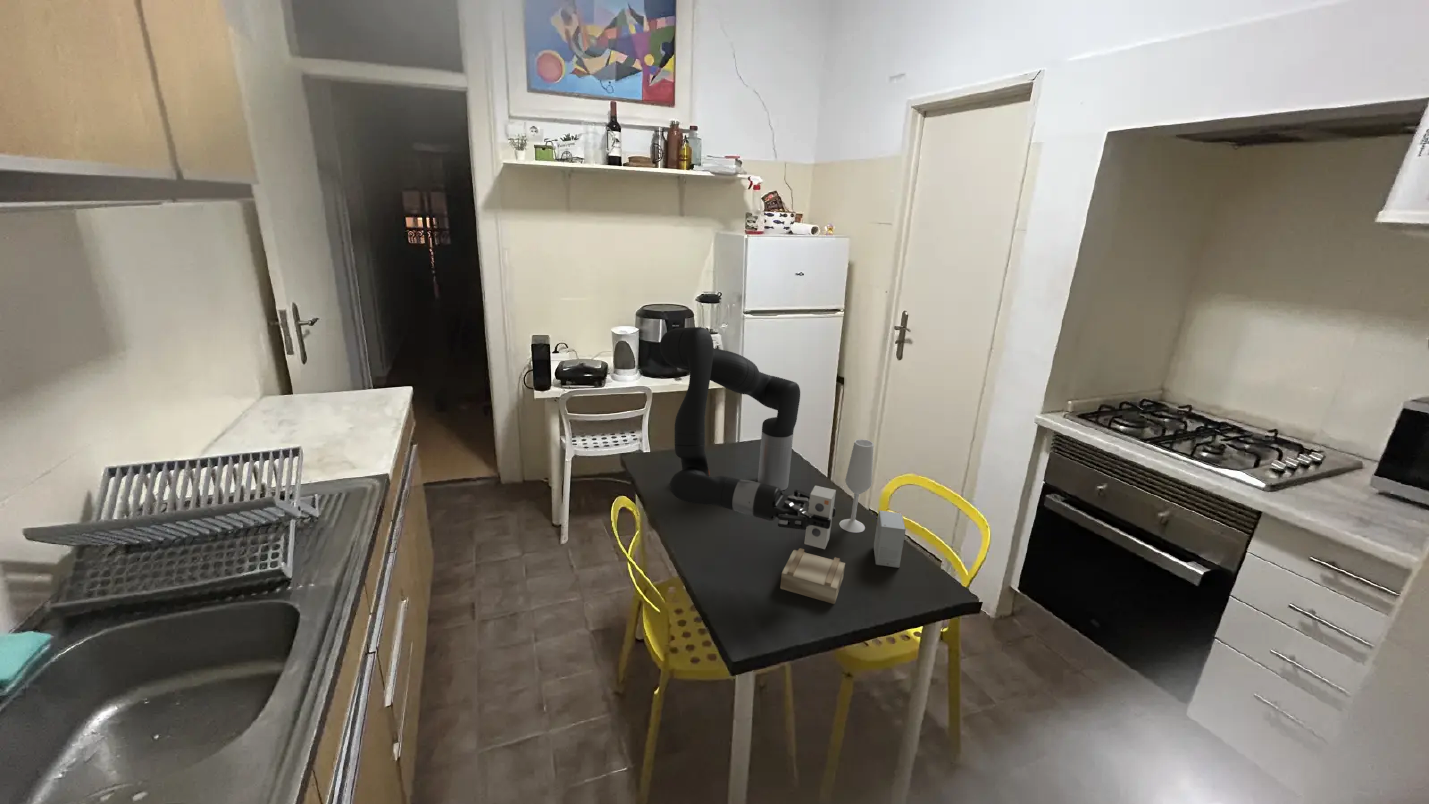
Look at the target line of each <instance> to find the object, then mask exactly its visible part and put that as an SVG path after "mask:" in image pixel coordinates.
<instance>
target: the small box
mask: <svg viewBox="0 0 1429 804" xmlns="http://www.w3.org/2000/svg"><path fill="white" fill-rule="evenodd" d="M905 525H906V524H905V521H904V518H903V513H901V512H893V511H887V510H878V515H877V522H876V528H875V535H874V541H873V551H874V552H873V553H874V561H875V565H876V566H882V567H883V566H885V567H891V568H900V566H901V559H902V556H903V555H902V554H903V546H904V544H905V543H904V542H905V535H906V526H905Z"/></svg>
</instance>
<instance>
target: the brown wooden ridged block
mask: <svg viewBox="0 0 1429 804" xmlns="http://www.w3.org/2000/svg"><path fill="white" fill-rule="evenodd" d="M845 566H846V562H842V561H841V558H840V557H836V556H834V558H833V559H831V558H827V557H823V556H819V555H816V554H812V553H807V552H805V549H804V548H800V547H799V548H798V550H796V549H793V551H792V552H791V554H790V556H789V558H788V560H787V562H786V564H785V566H784V568H783V569H782V572H781V577H780V589H781V590H783V591H784V590H785V591H787V592H791V593H794V594H797V595H798V594H799V595H800V596H801V595H802V596H805V597H809V598H812V599H816V600H817V601H818V600H819V601H822V602H826V603H829V604H832V605H835V604H836V602H837V598H838V595H839V592H840V589H841V586H842V583H843V580H844V576H845V575H844V574H845Z"/></svg>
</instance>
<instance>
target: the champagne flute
mask: <svg viewBox="0 0 1429 804" xmlns="http://www.w3.org/2000/svg"><path fill="white" fill-rule="evenodd" d="M874 447H875V445H874V442H872V441H871V440H868V439H864V438H862V439H861V438H859V439H855V440H854V443H853V446H852V451H851V454H850V459H849V461H848V462H849V463H848V467H847V471H846V476H845V478H844V480H845V481H844V482H845V485H846V486H847V488H848V489H849V490H850V491H851V492H852V493H853V501H852V507H851V515H850V518H846V519H845V518H844V519H842V520H840V522H839V526H840V529H843V530H844V531H846V532H849V533H857V534H858V533H862V532H864V531H865V529H866V527H865V524H864V523H862V522H861V521H859V520H857V519H856V518H857V512H858V511H857V509H858V504H859V495H861V494H863V493H865V492H867V491H868V490H869V489H870V488H871V487H872V484H873V465H874V464H873V463H874Z"/></svg>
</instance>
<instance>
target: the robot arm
mask: <svg viewBox="0 0 1429 804" xmlns="http://www.w3.org/2000/svg"><path fill="white" fill-rule="evenodd" d="M659 351H660V354H661V356H662V358H663V360H664V361H665V362H666V363H667V365H668V364H669V366H671V367H672V368H673V367H674V368H675V369H680V370H684V371H688V372H689V379H688V380H689V382H688V386H687V390H686V392H685V395H684V397H683V400H682V402H681V404H680V406H679V408H678V410H677V413H676V415H675V420H674V452H675V455H676V457H678V458H680V462H681V470H680V471H678V472H676V473H674V474H673V476H672V477H671V479H670V481H669V489H670V491H671V493H672V495H673V496H674V497H675V498H676V499H678V500H679V501H681V502H685V503H688V504H697V505H708V506H709V505H710V506H718V507H720V508H724V509H728V510H732V511H735V512H738V513H740V514H743V515H746V516H750V517H754V518H757V519H762V520H767V521H771V522H773V521H774V520H775V519H776V518H777V519H778V520H777V526H778V528H786V529H794V530H803V531H804V530H805V531H806V527H807V526H811V525H813V526H817V527H821V528H825V529H829V528H830V525H831V526H832V522H831V519H830V518H826V517H822V516H818V515H812V514H810V513H808V509H809V501H810V494H811V493H808V492H805V491H802V490H800V489H794V490H793V494H785V493H784V494H783V492H782V491H784V490H787V488H788V487H789V481H790V480H789V479H790V472H791V462H792V461H791V460H792V451H793V440H794V439H793V438H794V431H795V427H796V424H797V420H798V414H799V408H800V407H799V406H800V403H801V402H800V400H801V388H800V386H799V384H798V383H797V382H795V381H793V380H789V379H786V378H783V377H778V376H776V375H775V376H774V375H770V374H766V373H764V372H761V371H759V368H758V366H757V365H756V364H755V362H753V361H752V360H750V359H748V358H746V357H744V356H743V355H741V354H739V353H736V352H733V351H729V350H726V349H725V350H724V349H720V348H715V347H714V340H713V337H712V334H711V332H709V330H707V329H706V328H705V327H701V326H696V327H695V326H694V327H693V326H692V327H676V328H673V329H670V330H668V331H667V332H665V333H664V334H663V335H662V337H661V339H660V342H659ZM710 382H713V383H715V384H716V385H717V384H718V385H719V386H721V387H723V388H725V389H727V390H730V391H732V392H733V393H737V394H740V395H747V396H749V397H751V398H753V400H756V401H757V402H758V403H760V404H761V405H763V406H764V407H766V408H769V409H772V410H775V411H777V413H776V414H777V415H776V416H775V417H768V418H766V419H764V420H763V422H762V424H761V436H760V448H759V451H760V452H759V463H758V474H757V481H754V480H747V479H746V480H745V479H740V478H736V477H732V476H726V475H718V476H709V472H710V468H709V464H708V460H707V459H708V458H707V455H706V451H705V450H706V449H705V448H706V435H705V434H706V427H705V425H706V424H705V423H706V422H705V421H706V408H707V403H708V402H707V401H708V397H709V396H708V395H709V390H710ZM836 512H837V508H836V507H835V506H834V508H833V515H832V518H835V516H836V514H837V513H836Z"/></svg>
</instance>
